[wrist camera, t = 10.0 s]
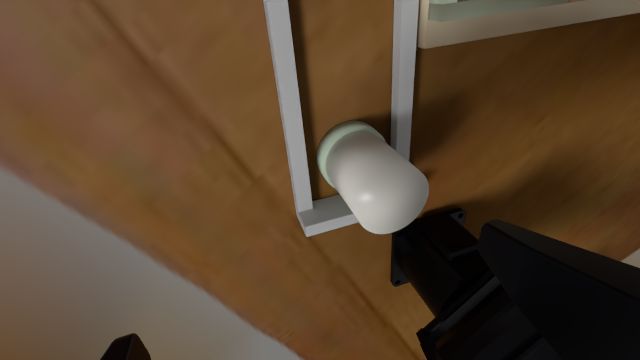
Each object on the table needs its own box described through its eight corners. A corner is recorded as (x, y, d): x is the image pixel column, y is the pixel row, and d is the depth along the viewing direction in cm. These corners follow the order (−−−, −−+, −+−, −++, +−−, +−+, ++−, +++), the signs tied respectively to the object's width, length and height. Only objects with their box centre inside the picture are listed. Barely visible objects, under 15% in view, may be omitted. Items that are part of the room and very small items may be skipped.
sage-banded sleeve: (379, 173, 23) (428, 224, 18) (319, 189, 22) (354, 246, 17) (379, 114, 21) (436, 153, 16) (313, 128, 20) (351, 174, 15)
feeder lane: (401, 187, 25) (419, 204, 23) (296, 215, 23) (306, 236, 21) (414, -84, 16) (445, -94, 14) (251, -73, 14) (261, -82, 13)
